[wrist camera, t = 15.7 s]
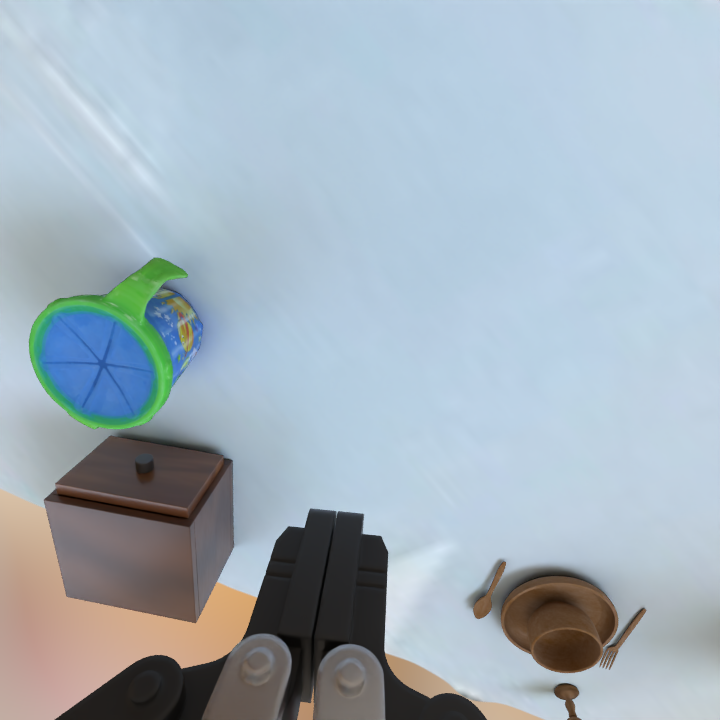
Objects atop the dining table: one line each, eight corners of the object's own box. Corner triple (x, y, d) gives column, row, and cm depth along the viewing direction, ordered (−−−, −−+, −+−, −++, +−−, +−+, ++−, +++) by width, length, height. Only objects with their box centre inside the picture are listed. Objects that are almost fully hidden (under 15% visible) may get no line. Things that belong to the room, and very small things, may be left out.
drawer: (108, 425, 47) (52, 472, 40) (223, 445, 46) (186, 497, 39) (122, 518, 52) (74, 574, 45) (225, 537, 51) (193, 598, 44)
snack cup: (155, 219, 38) (69, 237, 29) (256, 296, 40) (205, 337, 31) (86, 348, 45) (-2, 397, 35) (177, 410, 46) (114, 473, 37)
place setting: (661, 596, 48) (690, 651, 42) (576, 702, 56) (592, 759, 51) (499, 549, 48) (509, 598, 42) (440, 661, 56) (441, 714, 51)
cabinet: (111, 439, 49) (43, 499, 40) (232, 460, 48) (189, 527, 39) (124, 526, 54) (66, 597, 45) (233, 547, 53) (196, 623, 44)
